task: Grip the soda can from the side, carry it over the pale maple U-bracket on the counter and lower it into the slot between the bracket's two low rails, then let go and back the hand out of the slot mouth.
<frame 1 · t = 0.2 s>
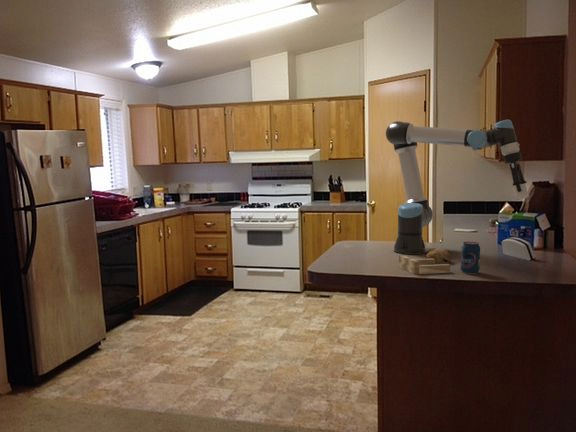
hand: (524, 198, 227), 27 cm above the countertop, tool tilted 15°, fingers open, 13 cm apart
u bracket: (426, 269, 204), on the countertop
white napkin holder: (517, 257, 232), on the countertop
bread roll: (437, 262, 221), on the countertop
soda can: (469, 273, 199), on the countertop
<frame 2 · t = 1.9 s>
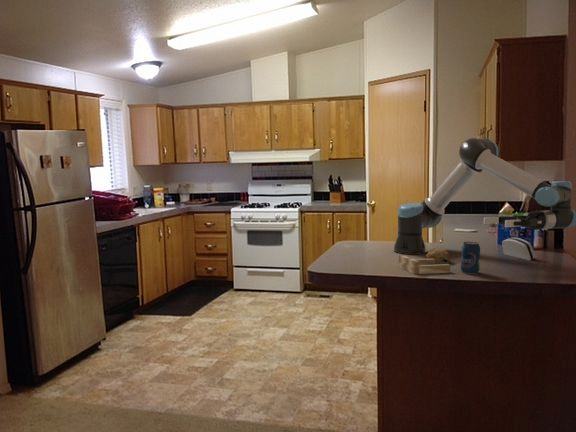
hand: (494, 222, 199), 20 cm above the countertop, tool horizontal, fingers open, 13 cm apart
nothing on the countertop moved.
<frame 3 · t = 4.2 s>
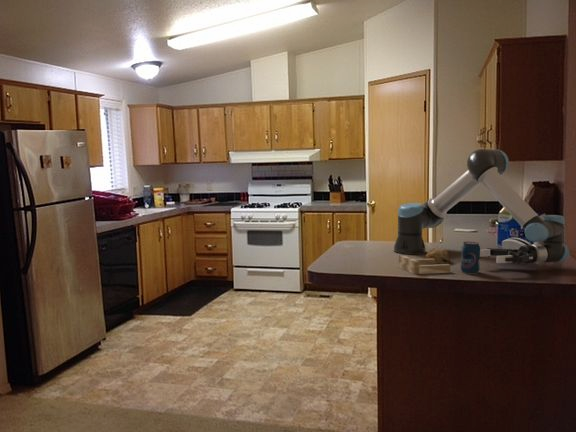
hand: (485, 256, 199), 6 cm above the countertop, tool horizontal, fingers open, 13 cm apart
nothing on the countertop moved.
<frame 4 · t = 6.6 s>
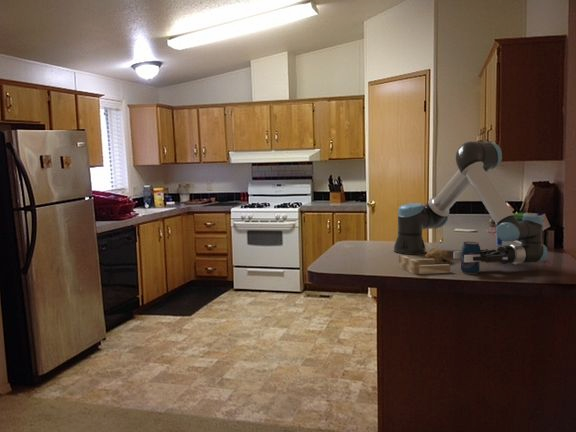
hand: (459, 256, 197), 7 cm above the countertop, tool horizontal, fingers closed on soda can, 7 cm apart
soda can: (469, 273, 199), on the countertop, touching gripper
everything else where it was.
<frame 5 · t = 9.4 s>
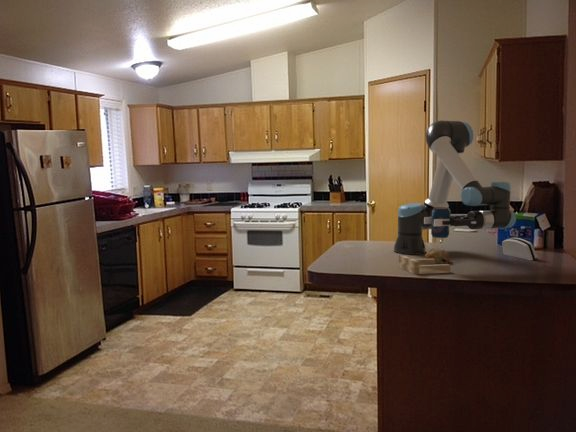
hand: (429, 221, 201), 20 cm above the countertop, tool horizontal, fingers closed on soda can, 7 cm apart
soda can: (439, 237, 203), point 13 cm above the countertop, touching gripper
everything else where it was.
when the fingers open (8 cm above the countertop, at t = 12.6 s): soda can drops 1 cm, on the countertop.
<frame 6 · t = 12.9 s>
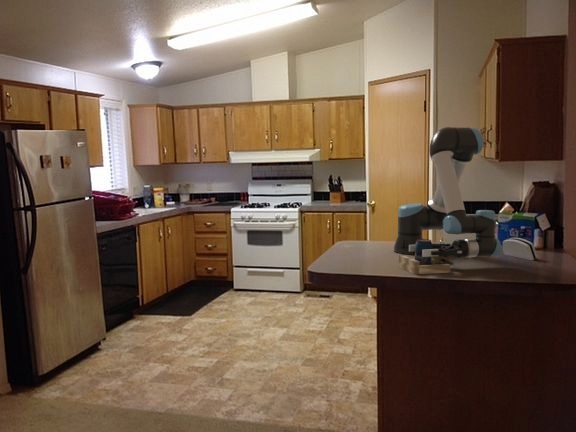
hand: (415, 250, 202), 8 cm above the countertop, tool horizontal, fingers open, 11 cm apart
soda can: (423, 269, 205), on the countertop
everything else where it was.
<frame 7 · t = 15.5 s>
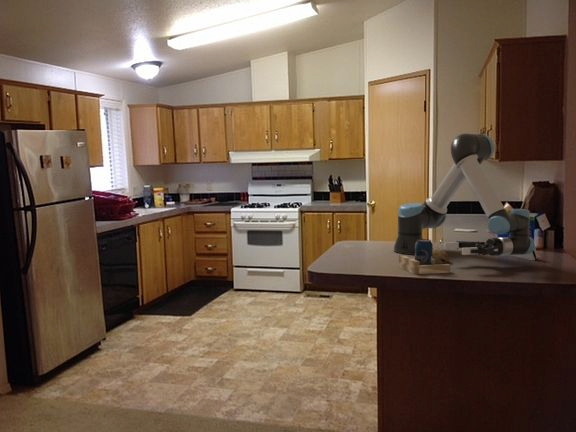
hand: (453, 248, 206), 8 cm above the countertop, tool horizontal, fingers open, 13 cm apart
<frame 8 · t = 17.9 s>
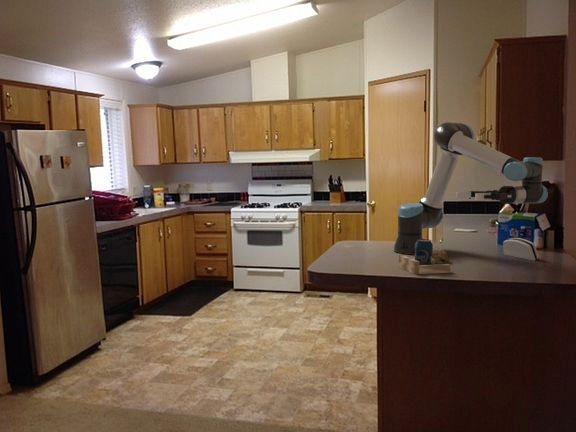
hand: (465, 195, 205), 30 cm above the countertop, tool horizontal, fingers open, 13 cm apart
at the end: soda can inside the target area (1.2 cm from its centre), on the countertop; soda can tilted 0°; the gripper is holding nothing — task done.
